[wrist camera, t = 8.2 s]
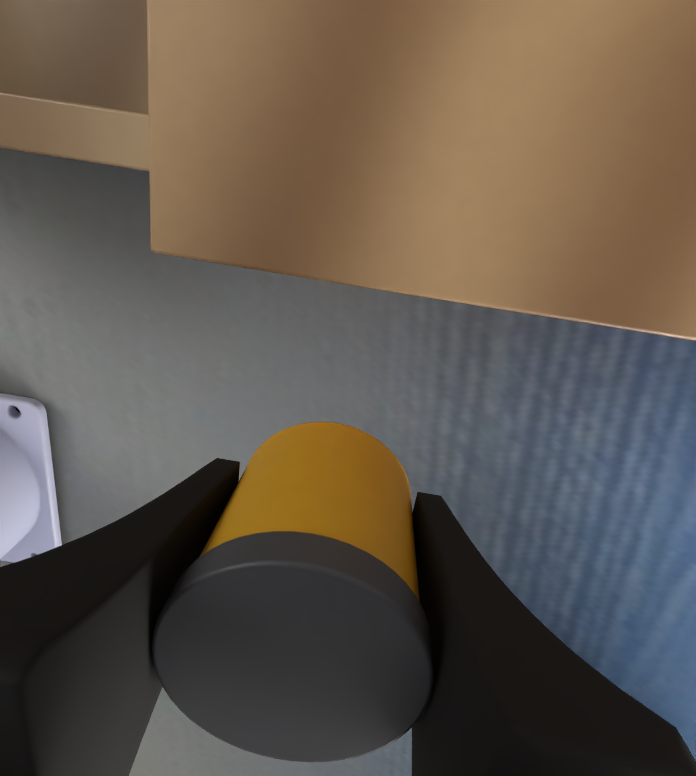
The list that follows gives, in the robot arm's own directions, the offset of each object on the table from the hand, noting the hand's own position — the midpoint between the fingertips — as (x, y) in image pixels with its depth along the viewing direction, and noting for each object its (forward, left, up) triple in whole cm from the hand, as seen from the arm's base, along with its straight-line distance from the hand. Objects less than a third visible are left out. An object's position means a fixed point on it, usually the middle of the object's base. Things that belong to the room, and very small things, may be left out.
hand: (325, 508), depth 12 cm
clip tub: (0, 0, -1) cm, 1 cm away
